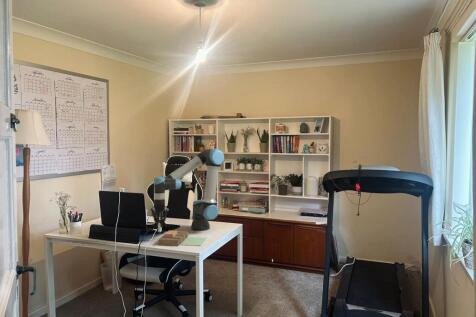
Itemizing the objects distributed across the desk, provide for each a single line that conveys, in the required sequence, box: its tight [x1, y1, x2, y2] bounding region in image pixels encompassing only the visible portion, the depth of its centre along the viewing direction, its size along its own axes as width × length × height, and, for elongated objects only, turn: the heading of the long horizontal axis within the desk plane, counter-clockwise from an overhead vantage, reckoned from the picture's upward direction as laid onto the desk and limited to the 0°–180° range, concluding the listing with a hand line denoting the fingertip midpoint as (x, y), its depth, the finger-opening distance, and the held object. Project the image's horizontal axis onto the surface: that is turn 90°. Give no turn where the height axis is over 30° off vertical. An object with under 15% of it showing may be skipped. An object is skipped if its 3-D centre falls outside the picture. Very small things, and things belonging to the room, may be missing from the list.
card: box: [164, 230, 178, 237], centre depth 247 cm, size 9×6×2 cm, turn 171°
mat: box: [180, 236, 208, 247], centre depth 244 cm, size 18×14×1 cm
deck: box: [158, 230, 189, 247], centre depth 246 cm, size 22×14×4 cm, turn 171°
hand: (159, 231), depth 248 cm, fingers closed
